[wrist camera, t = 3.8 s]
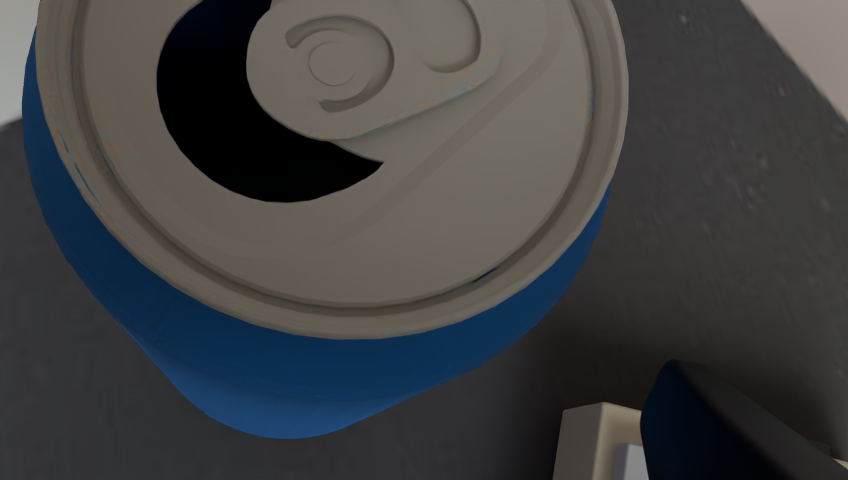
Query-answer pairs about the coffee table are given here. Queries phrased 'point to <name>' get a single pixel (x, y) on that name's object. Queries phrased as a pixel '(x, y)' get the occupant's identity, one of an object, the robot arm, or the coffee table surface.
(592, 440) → the kitchen scale
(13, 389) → the coffee table surface
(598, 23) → the beverage can
